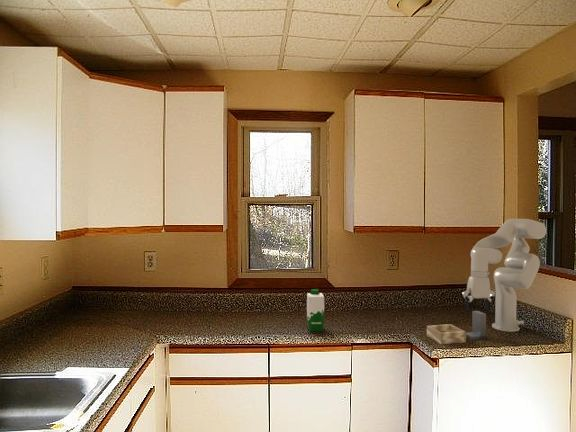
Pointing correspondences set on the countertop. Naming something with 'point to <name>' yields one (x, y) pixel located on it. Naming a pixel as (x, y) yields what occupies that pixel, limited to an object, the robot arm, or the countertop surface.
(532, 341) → the countertop surface
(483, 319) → the steel L-bracket
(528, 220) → the robot arm
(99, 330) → the countertop surface
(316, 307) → the milk carton
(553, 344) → the countertop surface
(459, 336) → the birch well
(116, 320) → the countertop surface
